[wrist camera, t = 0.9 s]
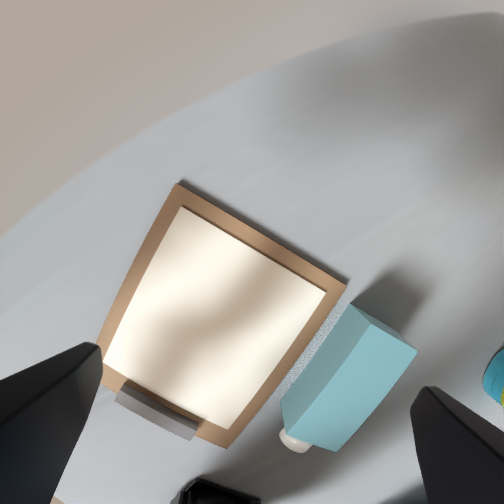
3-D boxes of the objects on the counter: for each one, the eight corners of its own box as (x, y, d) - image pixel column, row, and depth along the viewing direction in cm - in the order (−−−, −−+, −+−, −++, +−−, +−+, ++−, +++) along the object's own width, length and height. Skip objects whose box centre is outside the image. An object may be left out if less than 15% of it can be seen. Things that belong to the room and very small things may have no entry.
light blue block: (349, 302, 20) (370, 323, 16) (392, 328, 21) (418, 351, 17) (267, 415, 21) (271, 450, 17) (311, 432, 22) (321, 466, 18)
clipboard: (345, 284, 20) (352, 290, 18) (226, 445, 21) (226, 457, 20) (177, 183, 19) (172, 181, 17) (86, 370, 20) (78, 378, 19)
